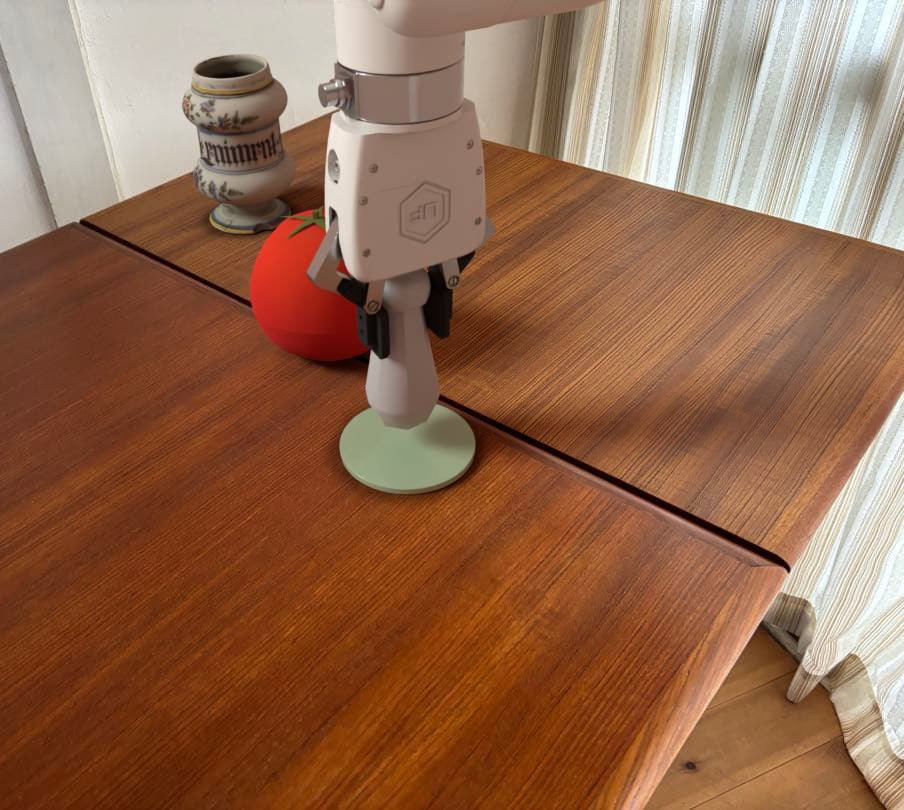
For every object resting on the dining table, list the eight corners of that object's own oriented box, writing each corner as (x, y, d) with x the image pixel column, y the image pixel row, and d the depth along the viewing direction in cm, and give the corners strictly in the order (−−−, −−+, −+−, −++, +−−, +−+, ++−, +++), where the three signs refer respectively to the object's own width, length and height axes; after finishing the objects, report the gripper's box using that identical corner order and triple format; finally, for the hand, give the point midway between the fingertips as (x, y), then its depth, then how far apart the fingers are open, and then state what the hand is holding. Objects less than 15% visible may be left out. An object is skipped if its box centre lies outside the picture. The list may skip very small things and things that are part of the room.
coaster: (487, 416, 71) (488, 411, 71) (458, 506, 63) (458, 501, 63) (364, 396, 74) (363, 390, 74) (320, 479, 66) (320, 474, 66)
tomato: (396, 320, 84) (393, 185, 75) (389, 390, 75) (384, 246, 66) (271, 319, 85) (253, 186, 76) (249, 388, 76) (226, 246, 67)
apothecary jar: (223, 249, 97) (196, 90, 86) (187, 210, 105) (159, 61, 94) (317, 222, 101) (303, 67, 90) (275, 187, 110) (258, 41, 99)
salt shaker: (428, 443, 64) (427, 296, 56) (357, 430, 66) (346, 286, 58) (447, 397, 69) (449, 255, 61) (380, 386, 70) (373, 246, 62)
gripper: (297, 136, 45) (323, 402, 57) (553, 77, 51) (530, 331, 62) (248, 97, 51) (280, 348, 62) (484, 48, 56) (474, 286, 68)
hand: (405, 337), depth 62 cm, fingers closed on salt shaker, 4 cm apart
